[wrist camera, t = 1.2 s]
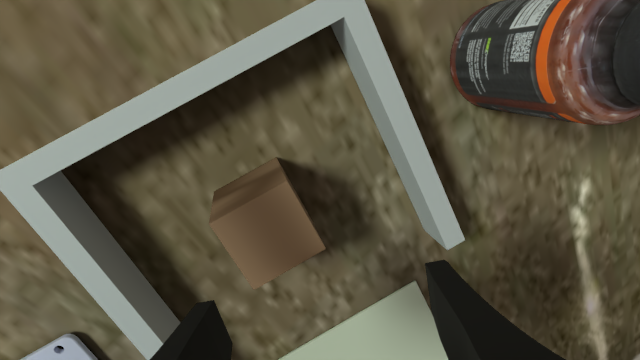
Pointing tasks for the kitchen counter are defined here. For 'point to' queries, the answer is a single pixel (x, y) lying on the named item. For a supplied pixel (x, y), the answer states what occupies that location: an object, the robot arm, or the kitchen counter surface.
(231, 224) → the block
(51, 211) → the u-shaped barrier
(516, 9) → the supplement bottle
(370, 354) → the mat
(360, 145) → the kitchen counter surface
